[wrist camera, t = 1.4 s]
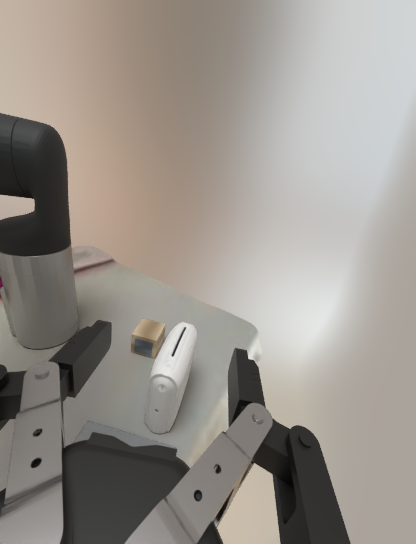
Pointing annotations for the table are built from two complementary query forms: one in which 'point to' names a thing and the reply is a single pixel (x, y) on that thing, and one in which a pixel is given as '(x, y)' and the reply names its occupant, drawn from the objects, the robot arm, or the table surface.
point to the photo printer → (170, 377)
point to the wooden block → (147, 338)
